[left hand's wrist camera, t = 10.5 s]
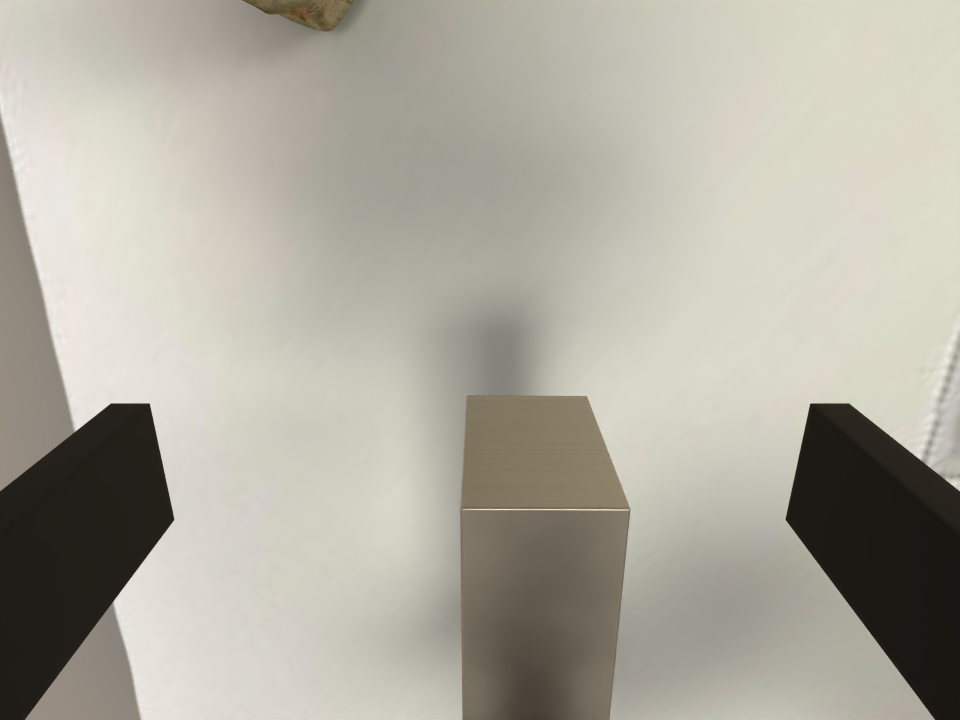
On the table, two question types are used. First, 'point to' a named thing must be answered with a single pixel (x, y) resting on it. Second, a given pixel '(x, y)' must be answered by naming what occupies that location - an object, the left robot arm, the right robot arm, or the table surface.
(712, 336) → the table surface
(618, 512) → the bar
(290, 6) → the sculpture
